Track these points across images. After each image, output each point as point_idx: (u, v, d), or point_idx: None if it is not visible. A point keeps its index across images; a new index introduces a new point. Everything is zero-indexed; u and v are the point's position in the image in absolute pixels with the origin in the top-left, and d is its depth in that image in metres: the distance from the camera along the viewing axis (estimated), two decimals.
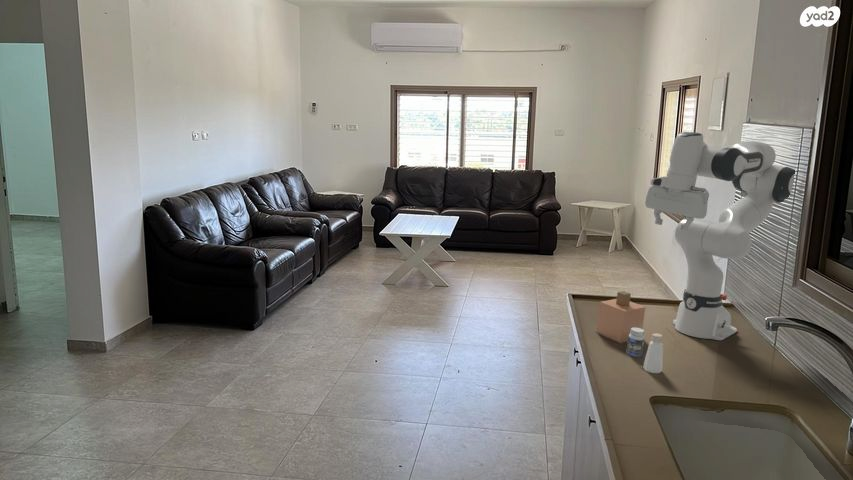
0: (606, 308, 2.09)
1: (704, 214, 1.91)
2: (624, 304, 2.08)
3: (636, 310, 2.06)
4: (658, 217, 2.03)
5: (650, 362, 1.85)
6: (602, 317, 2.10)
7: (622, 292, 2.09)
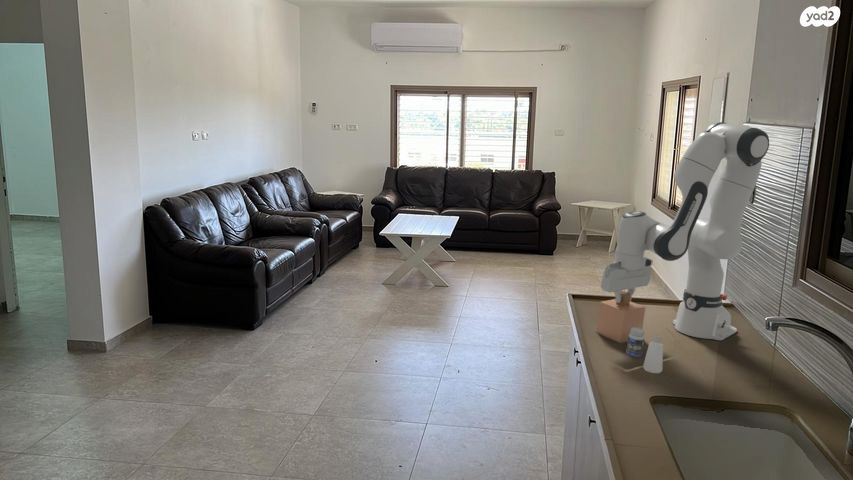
0: (606, 308, 2.09)
1: (605, 287, 2.02)
2: (624, 304, 2.08)
3: (636, 310, 2.06)
4: None
5: (650, 362, 1.85)
6: (602, 317, 2.10)
7: (622, 292, 2.09)
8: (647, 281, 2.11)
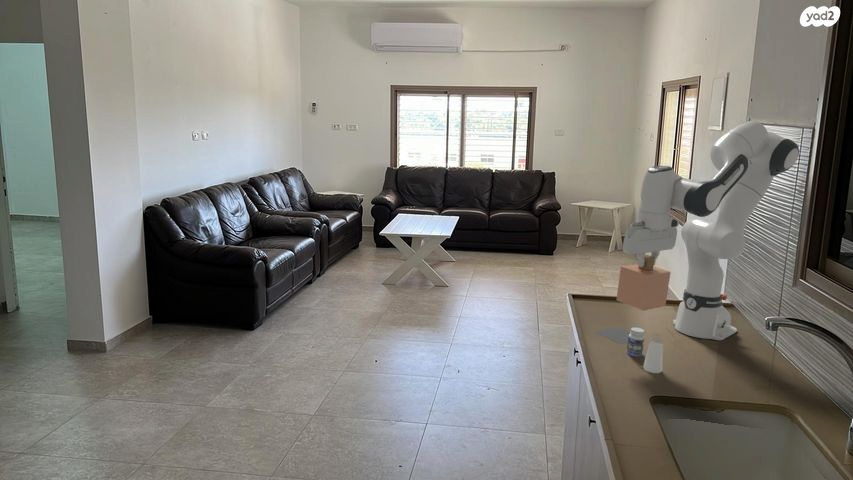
0: (627, 273, 1.90)
1: (628, 249, 1.83)
2: (647, 268, 1.89)
3: (661, 275, 1.87)
4: None
5: (650, 362, 1.85)
6: (623, 283, 1.92)
7: (645, 255, 1.90)
8: (672, 244, 1.92)
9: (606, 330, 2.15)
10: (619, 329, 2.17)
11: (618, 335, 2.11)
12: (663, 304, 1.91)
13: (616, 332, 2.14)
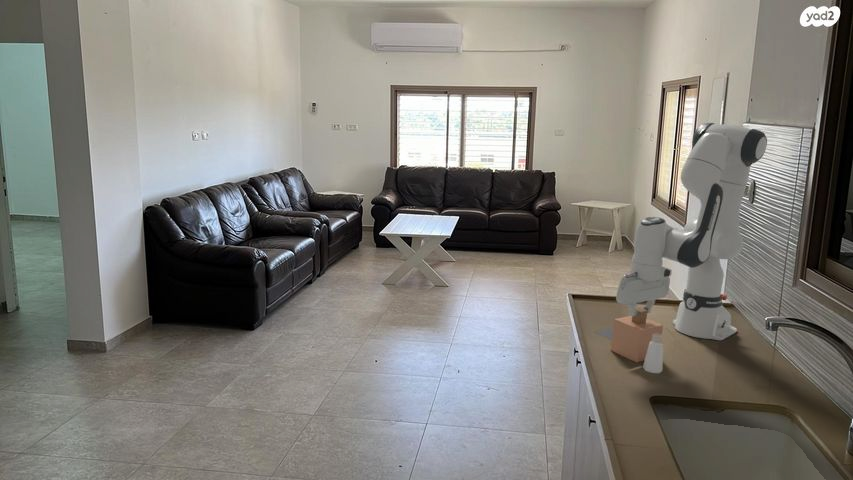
0: (621, 326, 1.94)
1: (621, 300, 1.87)
2: (640, 322, 1.93)
3: (653, 328, 1.91)
4: (647, 305, 1.96)
5: (650, 362, 1.85)
6: (616, 336, 1.96)
7: (638, 309, 1.94)
8: (665, 292, 1.96)
9: (606, 330, 2.15)
10: None
11: None
12: None
13: None
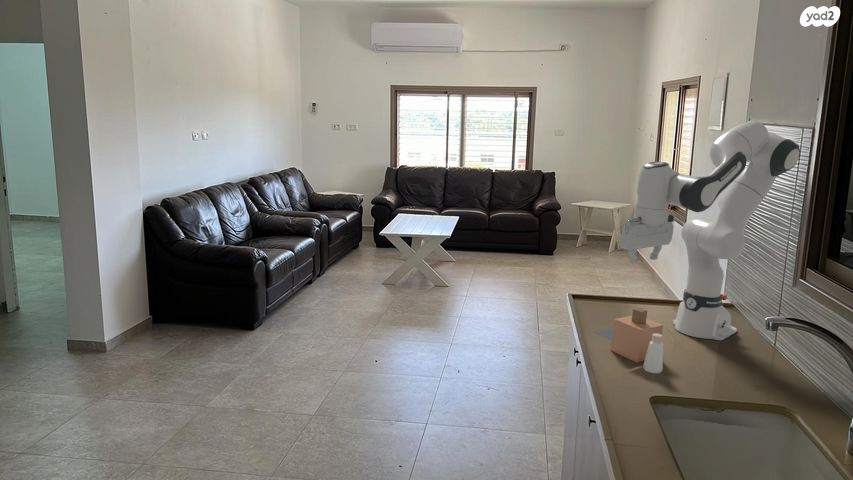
0: (621, 326, 1.94)
1: (625, 245, 1.85)
2: (640, 322, 1.93)
3: (653, 328, 1.91)
4: (654, 252, 1.95)
5: (650, 362, 1.85)
6: (616, 336, 1.96)
7: (638, 309, 1.94)
8: (669, 239, 1.94)
9: (606, 330, 2.15)
10: None
11: None
12: None
13: None
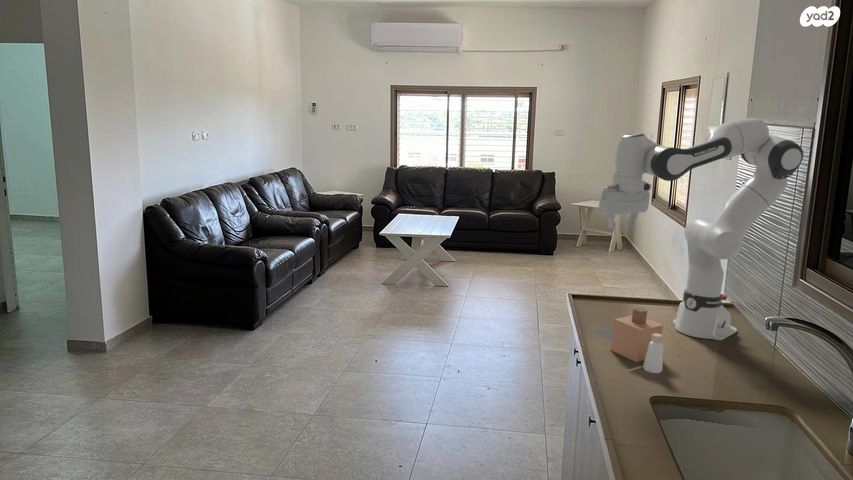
0: (621, 326, 1.94)
1: (603, 210, 1.98)
2: (640, 322, 1.93)
3: (653, 328, 1.91)
4: (631, 219, 2.07)
5: (650, 362, 1.85)
6: (616, 336, 1.96)
7: (638, 309, 1.94)
8: (646, 207, 2.07)
9: (606, 330, 2.15)
10: None
11: None
12: None
13: None
